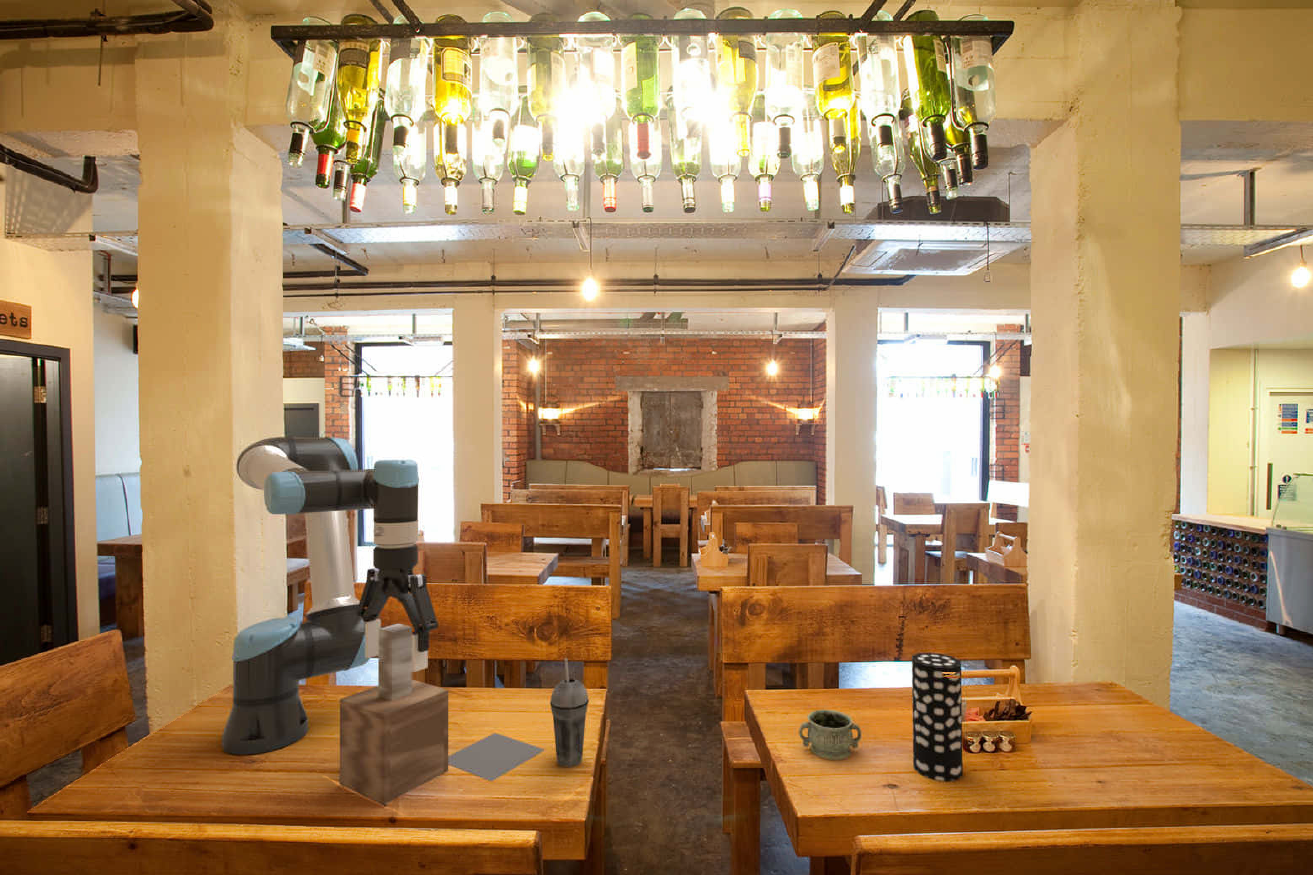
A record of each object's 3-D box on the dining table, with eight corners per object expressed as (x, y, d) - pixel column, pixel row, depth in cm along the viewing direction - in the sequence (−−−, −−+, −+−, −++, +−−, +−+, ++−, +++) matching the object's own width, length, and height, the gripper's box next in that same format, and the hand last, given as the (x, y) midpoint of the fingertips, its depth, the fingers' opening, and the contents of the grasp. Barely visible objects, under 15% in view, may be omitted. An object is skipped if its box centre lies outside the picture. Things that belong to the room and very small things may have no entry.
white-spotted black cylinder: (959, 762, 120) (958, 655, 120) (965, 784, 112) (964, 669, 112) (912, 755, 122) (910, 650, 123) (914, 776, 115) (913, 664, 115)
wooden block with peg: (339, 784, 113) (340, 631, 113) (403, 754, 124) (403, 614, 124) (384, 806, 106) (385, 642, 106) (448, 772, 117) (448, 624, 117)
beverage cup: (596, 758, 122) (595, 653, 122) (575, 776, 115) (575, 664, 116) (564, 750, 125) (563, 648, 125) (542, 767, 118) (542, 659, 119)
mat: (439, 762, 121) (439, 760, 121) (494, 734, 132) (494, 732, 132) (491, 783, 113) (491, 780, 113) (545, 751, 125) (545, 749, 125)
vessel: (856, 741, 129) (855, 709, 129) (867, 762, 120) (866, 729, 120) (796, 739, 130) (795, 708, 130) (802, 760, 121) (802, 727, 121)
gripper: (336, 542, 119) (336, 656, 119) (422, 553, 106) (422, 682, 105) (373, 537, 126) (372, 645, 125) (459, 547, 112) (458, 668, 112)
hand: (395, 662), depth 115 cm, fingers open, 13 cm apart
